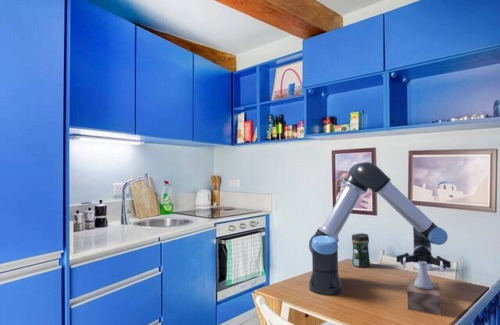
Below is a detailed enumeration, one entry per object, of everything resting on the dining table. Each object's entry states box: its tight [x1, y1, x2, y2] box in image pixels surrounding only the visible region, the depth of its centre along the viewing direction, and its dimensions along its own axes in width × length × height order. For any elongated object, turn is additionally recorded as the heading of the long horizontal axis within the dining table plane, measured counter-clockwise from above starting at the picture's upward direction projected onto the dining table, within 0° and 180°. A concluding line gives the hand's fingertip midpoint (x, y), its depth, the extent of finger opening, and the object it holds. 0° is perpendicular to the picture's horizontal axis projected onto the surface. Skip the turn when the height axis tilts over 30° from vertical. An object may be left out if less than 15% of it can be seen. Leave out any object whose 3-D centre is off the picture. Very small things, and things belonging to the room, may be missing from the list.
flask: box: [414, 261, 433, 289], centre depth 128 cm, size 7×7×10 cm
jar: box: [413, 262, 433, 272], centre depth 178 cm, size 9×8×12 cm
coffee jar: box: [351, 232, 371, 268], centre depth 185 cm, size 10×8×19 cm
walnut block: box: [406, 278, 442, 316], centre depth 128 cm, size 11×16×7 cm
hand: (422, 266), depth 128 cm, fingers open, 13 cm apart
